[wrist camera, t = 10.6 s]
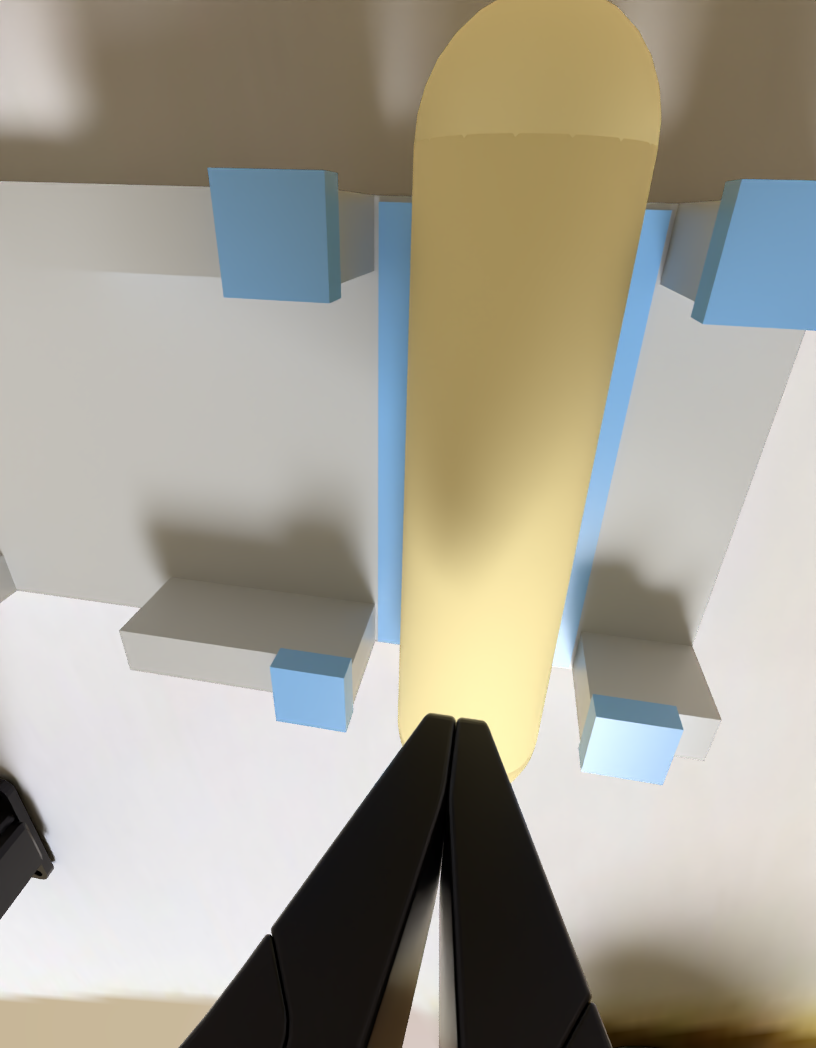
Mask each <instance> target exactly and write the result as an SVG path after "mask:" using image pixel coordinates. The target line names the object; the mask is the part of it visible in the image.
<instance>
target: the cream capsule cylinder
mask: <svg viewBox="0 0 816 1048" xmlns="http://www.w3.org/2000/svg"><path fill="white" fill-rule="evenodd" d="M660 127H661V103H660V88H659V82H658V79H657V75H656V71H655V67H654V63H653V59H652V56H651V54H650V52H649V50H648V48H647V46H646V44H645V42H644V40H643V38H642V36H641V34H640V32H639V30H638V29H637V28H636V27H635V26H634V25H633V24H632V23H631V21H630V20H629V19H628V18H627V17H626V16H625V15H624V14H623V12H622V11H621V10H620V9H619V8H618V7H617V6H615V5H614V4H612V3H610V2H609V1H607V0H496V1H494V2H493V3H491V4H489V5H488V6H486V7H484V8H483V9H481V10H480V11H479V12H477V13H476V14H475V15H474V16H473V17H472V18H471V19H470V20H469V21H468V22H467V23H466V24H465V25H464V26H463V27H462V28H461V29H460V30H459V31H458V32H457V33H456V34H455V35H454V37H453V38H452V39H451V41H450V42H449V44H448V45H447V46H446V48H445V49H444V51H443V52H442V54H441V55H440V56H439V58H438V60H437V62H436V64H435V66H434V68H433V70H432V72H431V75H430V77H429V79H428V81H427V83H426V85H425V89H424V92H423V96H422V99H421V103H420V107H419V110H418V114H417V122H416V131H415V140H414V150H413V187H412V223H411V260H410V296H409V333H408V369H407V406H406V442H405V479H404V515H403V552H402V588H401V624H400V661H399V697H398V727H399V734H400V739H401V743H402V746H403V745H404V744H405V743H406V741H407V740H408V738H409V737H410V736H411V734H412V733H413V731H414V730H415V729H416V727H417V726H418V725H419V723H420V722H421V720H422V719H423V718H424V717H425V716H426V715H427V714H428V713H436V714H443V715H450V716H453V717H454V718H455V720H456V722H457V720H458V719H459V718H461V717H463V718H470V719H477V720H483V721H485V722H486V723H487V725H488V726H489V729H490V731H491V734H492V737H493V739H494V742H495V744H496V747H497V750H498V752H499V755H500V757H501V760H502V763H503V765H504V768H505V770H506V773H507V776H508V778H509V781H510V783H511V782H512V781H513V780H514V779H515V778H516V777H517V776H518V775H519V774H520V773H521V772H522V771H523V769H524V768H525V767H526V765H527V763H528V762H529V760H530V758H531V756H532V753H533V751H534V748H535V745H536V741H537V737H538V732H539V727H540V722H541V717H542V712H543V707H544V702H545V698H546V693H547V688H548V683H549V678H550V673H551V668H552V663H553V659H554V654H555V649H556V644H557V639H558V634H559V629H560V624H561V620H562V615H563V610H564V605H565V600H566V595H567V590H568V585H569V581H570V576H571V571H572V566H573V561H574V556H575V551H576V546H577V542H578V537H579V532H580V527H581V522H582V517H583V512H584V507H585V503H586V498H587V493H588V488H589V483H590V478H591V473H592V468H593V464H594V459H595V454H596V449H597V444H598V439H599V434H600V429H601V425H602V420H603V415H604V410H605V405H606V400H607V395H608V390H609V386H610V381H611V376H612V371H613V366H614V361H615V356H616V351H617V347H618V342H619V337H620V332H621V327H622V322H623V317H624V313H625V308H626V303H627V298H628V293H629V288H630V283H631V278H632V274H633V269H634V264H635V259H636V254H637V249H638V244H639V239H640V235H641V230H642V225H643V220H644V215H645V210H646V205H647V200H648V196H649V191H650V186H651V181H652V176H653V171H654V166H655V161H656V157H657V152H658V144H659V136H660Z"/></svg>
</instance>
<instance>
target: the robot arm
mask: <svg viewBox="0 0 816 1048" xmlns="http://www.w3.org/2000/svg"><path fill="white" fill-rule="evenodd" d="M441 862H442V865H441ZM53 869H54V866H53V864H52V862H51V860H50V858H49V856H48V854H47V852H46V850H45V848H44V846H43V844H42V842H41V840H40V838H39V836H38V834H37V831H36V829H35V827H34V825H33V823H32V821H31V819H30V817H29V815H28V813H27V811H26V809H25V807H24V805H23V803H22V801H21V799H20V797H19V795H18V793H17V791H16V789H15V787H14V786H13V785H12V784H11V783H9V782H8V781H6V780H3V779H0V919H1V918H2V916H3V915H4V914H5V912H6V911H7V910H8V908H9V907H10V906H11V904H12V903H13V902H14V900H15V899H16V898H17V896H18V895H19V894H20V892H21V891H22V889H23V888H24V887H25V885H26V884H27V883H28V881H29V880H30V879H31V877H33V878H38V879H47V877H48V876H49V875H50V873H51V872H52V870H53ZM440 870H441V877H440ZM439 877H440V898H439V1048H612V1045H611V1043H610V1040H609V1037H608V1035H607V1032H606V1030H605V1027H604V1024H603V1022H602V1019H601V1017H600V1014H599V1011H598V1009H597V1006H596V1005H595V1004H594V1003H592V1002H590V1000H591V998H592V994H591V992H590V989H589V986H588V984H587V981H586V979H585V976H584V973H583V971H582V968H581V966H580V963H579V960H578V958H577V955H576V952H575V950H574V947H573V945H572V942H571V939H570V937H569V934H568V932H567V929H566V926H565V924H564V921H563V919H562V916H561V913H560V911H559V908H558V906H557V903H556V900H555V898H554V895H553V893H552V890H551V887H550V885H549V882H548V880H547V877H546V874H545V872H544V869H543V867H542V864H541V861H540V859H539V856H538V854H537V851H536V848H535V846H534V843H533V841H532V838H531V835H530V833H529V830H528V828H527V825H526V822H525V820H524V817H523V815H522V812H521V809H520V807H519V804H518V802H517V799H516V796H515V794H514V791H513V789H512V786H511V783H510V781H509V778H508V776H507V773H506V770H505V768H504V765H503V763H502V760H501V757H500V755H499V752H498V750H497V747H496V744H495V742H494V739H493V737H492V734H491V731H490V729H489V726H488V725H487V723H486V722H485V721H483V720H477V719H470V718H463V717H461V718H459V719H458V720H457V722H456V720H455V718H454V717H453V716H450V715H443V714H436V713H428V714H427V715H426V716H425V717H424V718H423V719H422V720H421V722H420V723H419V725H418V726H417V727H416V729H415V730H414V731H413V733H412V734H411V736H410V737H409V738H408V740H407V741H406V743H405V744H404V745H403V747H402V748H401V749H400V751H399V752H398V754H397V755H396V756H395V758H394V759H393V760H392V762H391V763H390V765H389V766H388V767H387V769H386V770H385V772H384V773H383V774H382V776H381V777H380V778H379V780H378V781H377V783H376V784H375V785H374V787H373V788H372V789H371V791H370V792H369V794H368V795H367V796H366V798H365V799H364V801H363V802H362V803H361V805H360V806H359V807H358V809H357V810H356V812H355V813H354V814H353V816H352V817H351V818H350V820H349V821H348V823H347V824H346V825H345V827H344V828H343V830H342V831H341V832H340V834H339V835H338V836H337V838H336V839H335V841H334V842H333V843H332V845H331V846H330V847H329V849H328V850H327V852H326V853H325V854H324V856H323V857H322V859H321V860H320V861H319V863H318V864H317V865H316V867H315V868H314V870H313V871H312V872H311V874H310V875H309V876H308V878H307V879H306V881H305V882H304V883H303V885H302V886H301V888H300V889H299V890H298V892H297V893H296V894H295V896H294V897H293V899H292V900H291V901H290V903H289V904H288V905H287V907H286V908H285V910H284V911H283V912H282V914H281V915H280V917H279V918H278V919H277V921H276V922H275V923H274V925H273V926H272V928H271V933H272V936H271V935H270V934H267V935H265V937H264V938H263V939H262V941H261V942H260V944H259V945H258V946H257V948H256V949H255V950H254V952H253V953H252V955H251V956H250V957H249V959H248V960H247V962H246V963H245V964H244V966H243V967H242V968H241V970H240V971H239V972H238V974H237V975H236V976H235V978H234V979H233V980H232V981H231V983H230V984H229V985H228V987H227V988H226V989H225V991H224V992H223V993H222V995H221V996H220V997H219V998H218V1000H217V1001H216V1002H215V1004H214V1005H213V1006H212V1008H211V1009H210V1010H209V1012H208V1013H207V1014H206V1015H205V1017H204V1018H203V1019H202V1020H201V1022H200V1023H199V1024H198V1025H197V1026H196V1028H195V1029H194V1030H193V1031H192V1032H191V1034H190V1035H189V1036H188V1037H187V1038H186V1040H185V1041H184V1042H183V1043H182V1044H181V1045H180V1047H179V1048H402V1045H403V1041H404V1036H405V1032H406V1028H407V1023H408V1019H409V1015H410V1010H411V1006H412V1001H413V997H414V993H415V988H416V984H417V979H418V975H419V970H420V966H421V962H422V957H423V953H424V948H425V944H426V940H427V935H428V931H429V926H430V922H431V918H432V913H433V909H434V904H435V899H436V894H437V889H438V884H439Z"/></svg>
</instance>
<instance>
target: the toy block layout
mask: <svg viewBox="0 0 816 1048" xmlns="http://www.w3.org/2000/svg"><path fill="white" fill-rule="evenodd" d="M208 176H209V184H210V187H201V186H163V185H125V184H87V183H49V182H11V181H0V603H1V602H2V601H3V600H5V599H6V598H7V597H9V596H10V595H12V594H13V593H14V592H16V591H17V590H18V591H25V592H32V593H39V594H46V595H53V596H60V597H67V598H74V599H81V600H88V601H95V602H102V603H109V604H116V605H123V606H130V607H138V608H141V609H140V610H139V611H138V612H137V613H136V614H135V615H134V616H133V617H132V618H131V619H130V620H129V621H128V622H127V623H126V624H125V625H124V626H123V627H122V628H121V629H120V630H119V632H120V635H121V639H122V642H123V646H124V649H125V653H126V656H127V660H128V663H129V666H130V670H136V671H142V672H148V673H154V674H161V675H167V676H173V677H180V678H186V679H192V680H198V681H205V682H211V683H217V684H223V685H230V686H236V687H242V688H249V689H255V690H261V691H267V692H273V698H274V706H275V714H276V721H281V722H287V723H293V724H299V725H305V726H311V727H317V728H323V729H329V730H335V731H341V732H346V731H347V728H348V725H349V722H350V719H351V716H352V713H353V704H354V701H355V698H356V695H357V692H358V689H359V686H360V683H361V680H362V678H363V675H364V672H365V669H366V666H367V663H368V660H369V657H370V654H371V651H372V649H373V646H374V643H375V641H377V642H384V643H391V644H398V645H400V624H401V588H402V552H403V515H404V479H405V442H406V406H407V369H408V333H409V296H410V260H411V223H412V196H390V195H370V194H363V193H356V192H348V191H341V190H338V173H335V172H331V171H326V170H297V169H250V168H208ZM806 330H814V331H816V181H815V180H768V179H739V180H733V181H727V182H726V183H725V187H724V191H723V194H722V198H721V200H717V201H704V202H691V203H647V205H646V210H645V215H644V220H643V225H642V230H641V235H640V239H639V244H638V249H637V254H636V259H635V264H634V269H633V274H632V278H631V283H630V288H629V293H628V298H627V303H626V308H625V313H624V317H623V322H622V327H621V332H620V337H619V342H618V347H617V351H616V356H615V361H614V366H613V371H612V376H611V381H610V386H609V390H608V395H607V400H606V405H605V410H604V415H603V420H602V425H601V429H600V434H599V439H598V444H597V449H596V454H595V459H594V464H593V468H592V473H591V478H590V483H589V488H588V493H587V498H586V503H585V507H584V512H583V517H582V522H581V527H580V532H579V537H578V542H577V546H576V551H575V556H574V561H573V566H572V571H571V576H570V581H569V585H568V590H567V595H566V600H565V605H564V610H563V615H562V620H561V624H560V629H559V634H558V639H557V644H556V649H555V654H554V659H553V663H552V666H553V667H560V668H567V669H572V671H573V680H574V689H575V698H576V707H577V716H578V725H579V734H580V744H579V756H580V765H581V772H587V773H593V774H599V775H605V776H611V777H617V778H623V779H629V780H635V781H641V782H647V783H653V784H659V785H663V783H664V780H665V778H666V775H667V772H668V770H669V767H670V765H671V762H672V760H673V757H674V756H676V757H682V758H688V759H695V760H701V761H704V760H705V758H706V756H707V753H708V751H709V749H710V746H711V744H712V742H713V739H714V737H715V735H716V732H717V730H718V728H719V725H720V723H721V721H722V720H721V718H720V715H719V712H718V710H717V707H716V705H715V702H714V700H713V697H712V695H711V692H710V690H709V687H708V685H707V682H706V680H705V677H704V675H703V672H702V669H701V667H700V664H699V662H698V659H697V657H696V654H695V652H694V649H693V647H692V645H693V643H694V640H695V637H696V634H697V632H698V629H699V626H700V623H701V620H702V618H703V615H704V612H705V609H706V607H707V604H708V601H709V598H710V595H711V593H712V590H713V587H714V584H715V581H716V579H717V576H718V573H719V570H720V568H721V565H722V562H723V559H724V556H725V554H726V551H727V548H728V545H729V543H730V540H731V537H732V534H733V531H734V529H735V526H736V523H737V520H738V517H739V515H740V512H741V509H742V506H743V504H744V501H745V498H746V495H747V492H748V490H749V487H750V484H751V481H752V479H753V476H754V473H755V470H756V467H757V465H758V462H759V459H760V456H761V453H762V451H763V448H764V445H765V442H766V440H767V437H768V434H769V431H770V428H771V426H772V423H773V420H774V417H775V414H776V412H777V409H778V406H779V403H780V401H781V398H782V395H783V392H784V389H785V387H786V384H787V381H788V378H789V376H790V373H791V370H792V367H793V364H794V362H795V359H796V356H797V353H798V350H799V348H800V345H801V342H802V339H803V337H804V334H805V331H806Z"/></svg>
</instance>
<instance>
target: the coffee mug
mask: <svg viewBox="0 0 816 1048" xmlns="http://www.w3.org/2000/svg"><path fill="white" fill-rule="evenodd" d="M620 1048H652V1047H620Z"/></svg>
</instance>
